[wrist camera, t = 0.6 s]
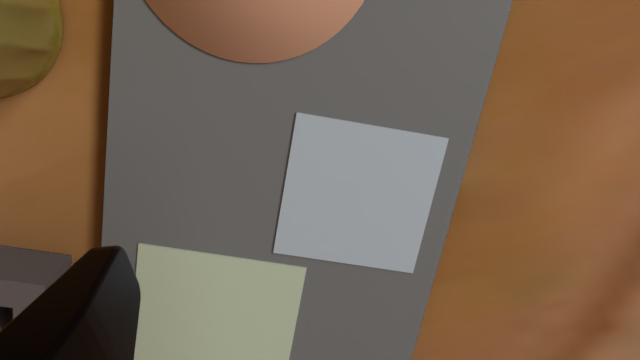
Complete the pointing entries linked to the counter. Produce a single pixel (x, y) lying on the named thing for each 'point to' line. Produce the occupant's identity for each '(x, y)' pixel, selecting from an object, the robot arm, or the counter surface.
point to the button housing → (26, 278)
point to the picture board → (290, 168)
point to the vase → (28, 42)
